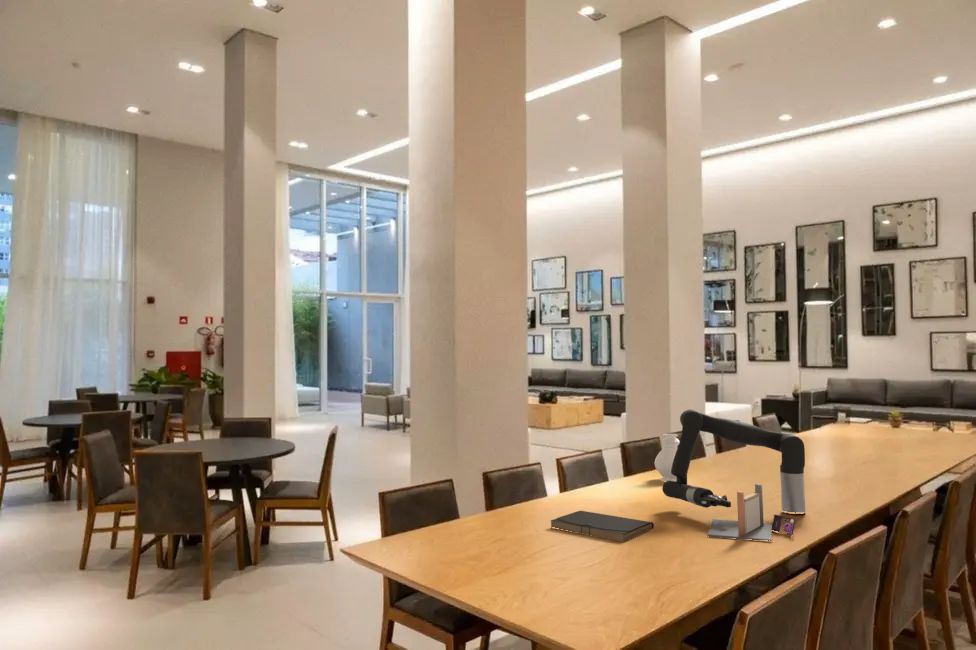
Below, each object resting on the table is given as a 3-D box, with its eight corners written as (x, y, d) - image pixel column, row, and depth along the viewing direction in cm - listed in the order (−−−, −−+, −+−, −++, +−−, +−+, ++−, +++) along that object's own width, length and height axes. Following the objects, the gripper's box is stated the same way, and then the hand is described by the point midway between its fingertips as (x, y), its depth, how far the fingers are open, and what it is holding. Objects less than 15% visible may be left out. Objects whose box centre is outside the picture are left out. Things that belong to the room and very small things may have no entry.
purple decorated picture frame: (773, 514, 249) (793, 519, 241) (781, 516, 251) (802, 521, 243) (769, 531, 248) (790, 537, 240) (778, 534, 250) (799, 539, 242)
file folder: (550, 519, 259) (582, 508, 278) (550, 529, 259) (582, 518, 277) (623, 532, 238) (653, 520, 256) (623, 544, 238) (653, 530, 256)
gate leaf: (755, 525, 253) (754, 492, 253) (760, 525, 251) (759, 492, 252) (741, 532, 242) (740, 498, 243) (746, 533, 241) (745, 499, 241)
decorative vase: (692, 479, 354) (691, 433, 356) (683, 485, 339) (682, 437, 341) (660, 476, 364) (659, 431, 365) (650, 482, 349) (649, 435, 350)
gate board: (712, 521, 265) (711, 479, 266) (771, 526, 256) (769, 482, 257) (707, 536, 243) (706, 491, 244) (771, 542, 234) (769, 495, 235)
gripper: (686, 489, 267) (715, 496, 251) (711, 485, 272) (742, 493, 256) (687, 507, 267) (716, 516, 251) (712, 503, 272) (743, 512, 256)
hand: (729, 504), depth 254 cm, fingers closed
